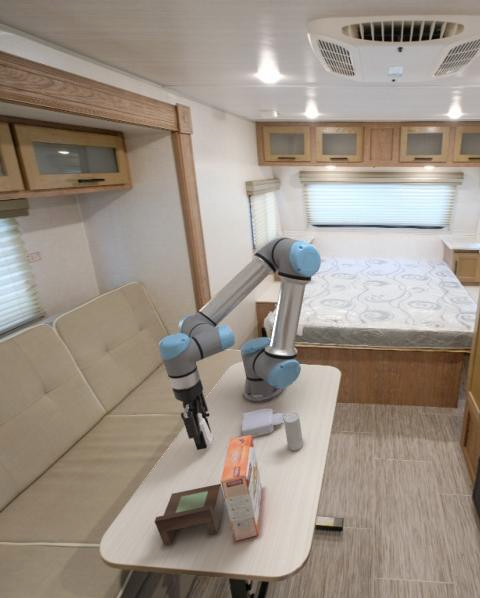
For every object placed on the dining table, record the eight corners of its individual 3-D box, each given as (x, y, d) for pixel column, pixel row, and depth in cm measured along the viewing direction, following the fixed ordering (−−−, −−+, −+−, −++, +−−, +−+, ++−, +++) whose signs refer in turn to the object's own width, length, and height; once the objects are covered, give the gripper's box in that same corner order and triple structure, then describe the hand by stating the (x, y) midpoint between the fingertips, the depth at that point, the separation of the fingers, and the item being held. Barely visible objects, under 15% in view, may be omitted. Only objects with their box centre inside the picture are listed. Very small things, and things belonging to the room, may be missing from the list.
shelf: (177, 509, 93) (169, 485, 90) (224, 498, 96) (218, 475, 93) (164, 546, 84) (154, 521, 81) (217, 533, 87) (209, 509, 84)
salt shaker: (214, 433, 115) (207, 407, 111) (212, 445, 110) (204, 419, 106) (196, 438, 113) (188, 412, 109) (193, 450, 109) (185, 423, 104)
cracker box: (260, 535, 87) (247, 475, 79) (234, 542, 85) (218, 482, 77) (264, 488, 99) (252, 432, 91) (241, 493, 98) (228, 437, 90)
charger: (289, 430, 121) (243, 440, 116) (288, 413, 129) (245, 422, 124) (288, 419, 119) (241, 429, 114) (287, 403, 127) (243, 412, 122)
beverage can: (298, 452, 112) (294, 423, 107) (285, 450, 112) (280, 421, 108) (305, 441, 116) (301, 413, 111) (292, 439, 117) (288, 411, 112)
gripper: (182, 367, 110) (199, 423, 119) (161, 405, 94) (183, 466, 103) (207, 364, 112) (222, 419, 121) (191, 400, 95) (210, 461, 104)
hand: (204, 441), depth 112 cm, fingers closed on salt shaker, 5 cm apart
